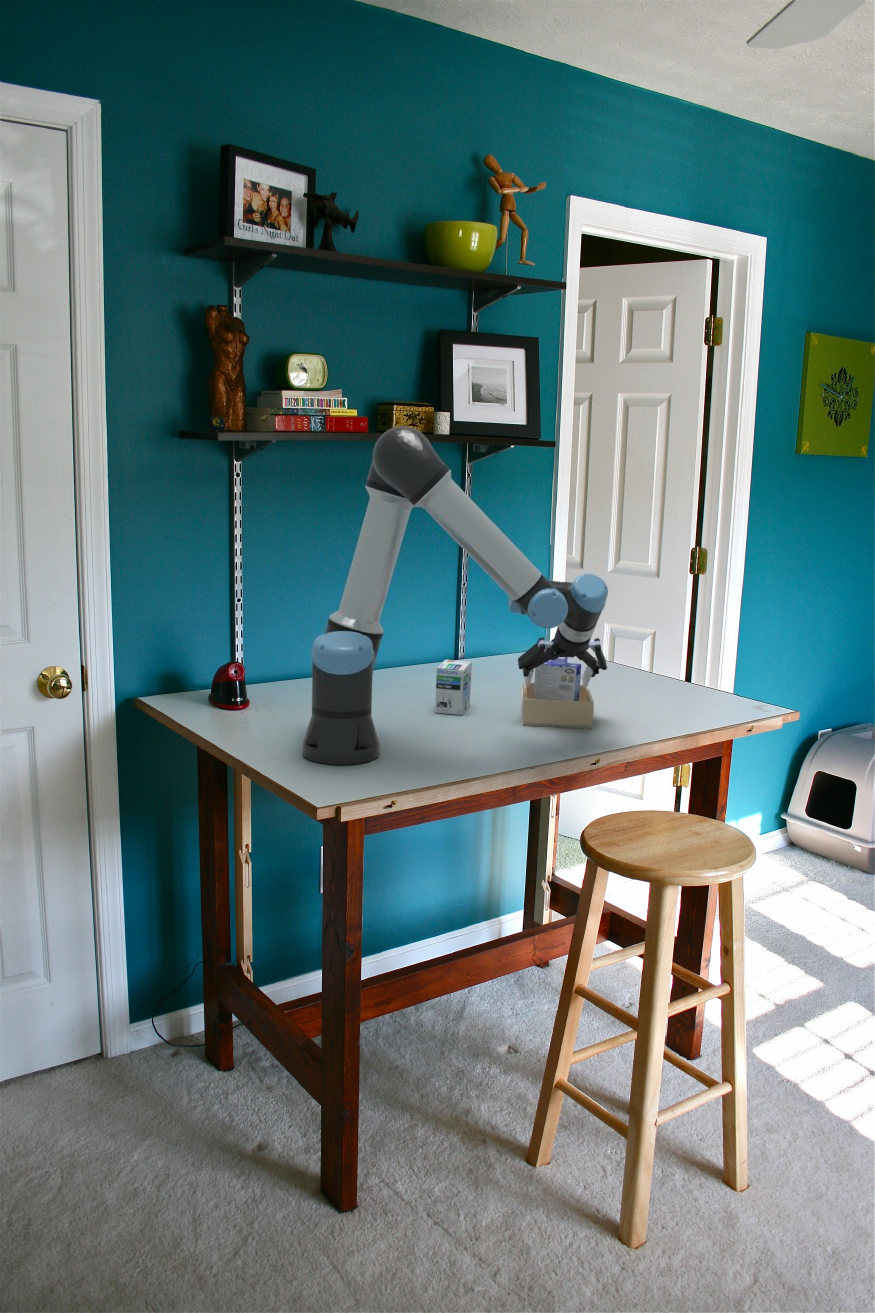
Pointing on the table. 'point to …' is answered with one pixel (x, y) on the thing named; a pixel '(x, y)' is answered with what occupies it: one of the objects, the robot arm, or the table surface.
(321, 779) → the table surface
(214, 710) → the table surface
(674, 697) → the table surface
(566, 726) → the open tan box
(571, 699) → the ink cartridge box
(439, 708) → the light bulb box
